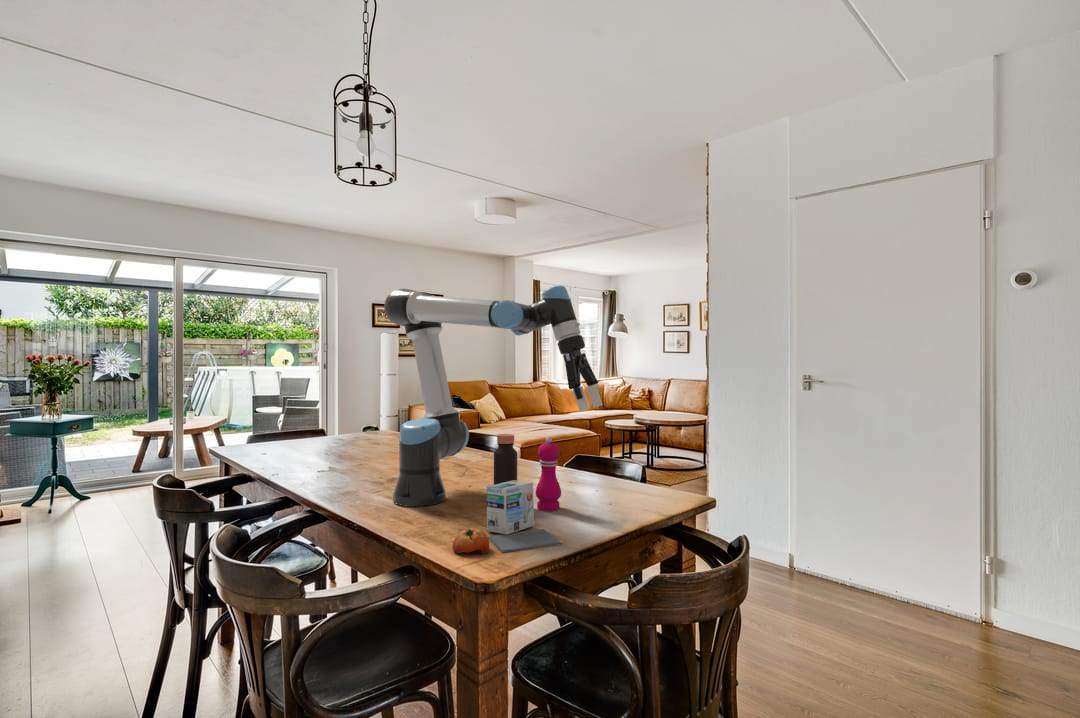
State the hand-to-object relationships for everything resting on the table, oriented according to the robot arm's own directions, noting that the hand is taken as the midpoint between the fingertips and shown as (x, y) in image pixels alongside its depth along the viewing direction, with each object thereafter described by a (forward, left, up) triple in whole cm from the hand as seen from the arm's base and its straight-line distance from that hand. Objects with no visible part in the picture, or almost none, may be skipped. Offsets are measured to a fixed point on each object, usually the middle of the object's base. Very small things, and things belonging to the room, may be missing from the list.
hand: (591, 408), depth 152 cm
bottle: (-10, -22, -28) cm, 37 cm away
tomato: (+22, -41, -28) cm, 54 cm away
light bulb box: (+12, -28, -28) cm, 41 cm away
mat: (+21, -28, -28) cm, 45 cm away
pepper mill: (-2, -12, -28) cm, 31 cm away
